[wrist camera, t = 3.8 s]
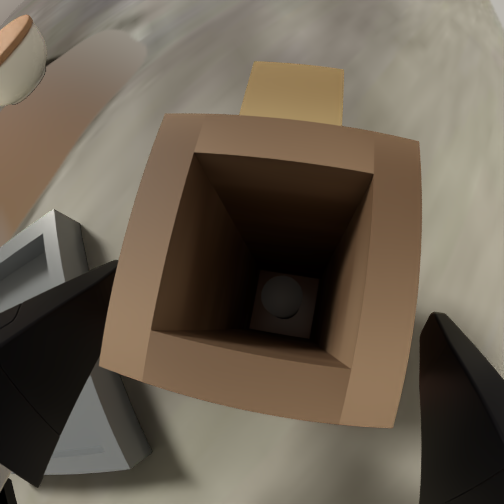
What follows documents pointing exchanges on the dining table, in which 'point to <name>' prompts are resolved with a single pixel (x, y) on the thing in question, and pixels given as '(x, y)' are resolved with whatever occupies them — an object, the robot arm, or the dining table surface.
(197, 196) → the sleeve
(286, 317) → the pink square mat
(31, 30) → the lidded jar
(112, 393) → the tray
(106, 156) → the dining table surface
